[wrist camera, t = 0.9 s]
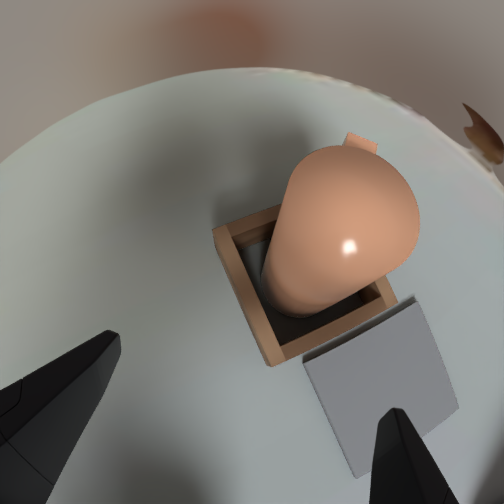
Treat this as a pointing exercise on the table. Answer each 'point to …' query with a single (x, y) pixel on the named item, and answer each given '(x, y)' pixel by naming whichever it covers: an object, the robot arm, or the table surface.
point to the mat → (382, 383)
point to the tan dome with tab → (338, 228)
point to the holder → (227, 246)
